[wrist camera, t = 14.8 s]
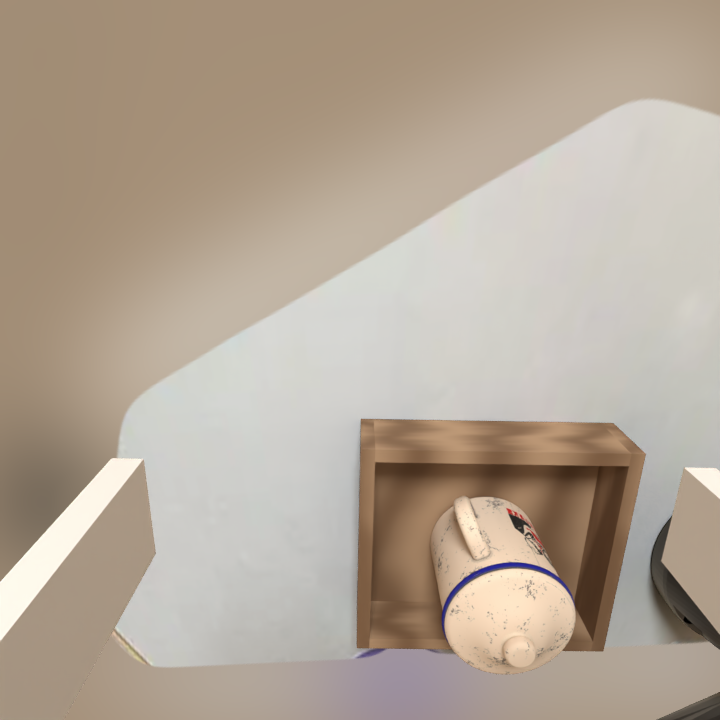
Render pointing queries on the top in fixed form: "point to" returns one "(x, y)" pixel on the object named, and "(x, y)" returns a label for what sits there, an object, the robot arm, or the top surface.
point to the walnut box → (500, 480)
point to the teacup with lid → (498, 588)
